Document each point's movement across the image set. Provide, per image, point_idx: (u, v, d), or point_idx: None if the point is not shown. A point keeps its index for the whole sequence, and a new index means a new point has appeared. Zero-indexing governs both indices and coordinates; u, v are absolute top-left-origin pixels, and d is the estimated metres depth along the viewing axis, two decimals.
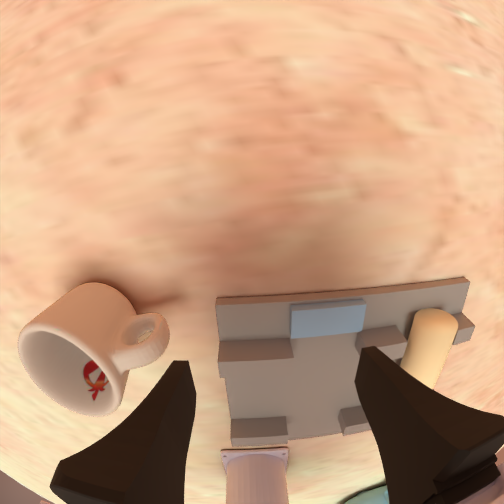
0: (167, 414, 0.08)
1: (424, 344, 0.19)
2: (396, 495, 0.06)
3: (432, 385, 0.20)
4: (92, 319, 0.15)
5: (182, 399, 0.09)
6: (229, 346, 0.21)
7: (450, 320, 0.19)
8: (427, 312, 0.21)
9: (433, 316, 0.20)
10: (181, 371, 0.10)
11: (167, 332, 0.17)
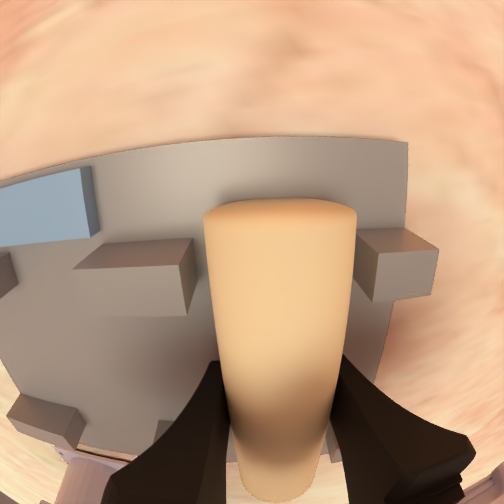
0: (215, 416, 0.08)
1: (218, 273, 0.07)
2: None
3: (305, 414, 0.08)
4: None
5: (224, 399, 0.09)
6: None
7: (332, 212, 0.07)
8: (272, 201, 0.09)
9: (281, 206, 0.08)
10: None
11: None
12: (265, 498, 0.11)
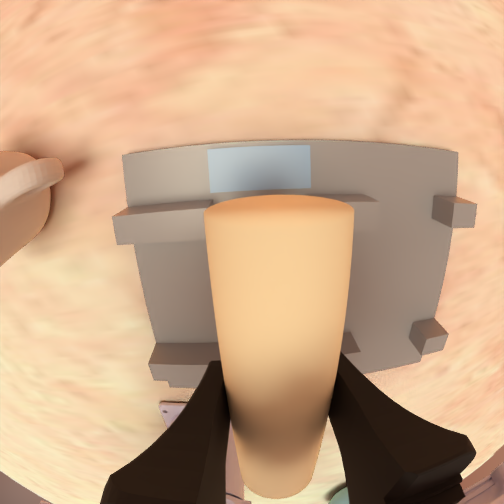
0: (215, 416, 0.08)
1: (215, 265, 0.07)
2: None
3: (299, 409, 0.08)
4: None
5: (224, 399, 0.09)
6: (135, 208, 0.16)
7: (330, 209, 0.07)
8: (274, 198, 0.09)
9: (282, 202, 0.08)
10: (222, 371, 0.10)
11: (55, 167, 0.12)
12: (262, 494, 0.11)
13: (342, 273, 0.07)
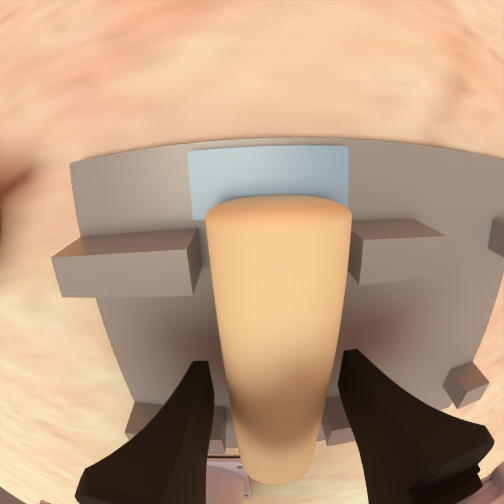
0: (192, 415, 0.08)
1: (217, 268, 0.07)
2: (375, 502, 0.06)
3: (297, 402, 0.09)
4: None
5: (204, 399, 0.09)
6: (87, 240, 0.10)
7: (328, 213, 0.08)
8: (274, 198, 0.09)
9: (281, 204, 0.09)
10: (202, 371, 0.10)
11: None
12: (261, 480, 0.12)
13: (339, 276, 0.07)
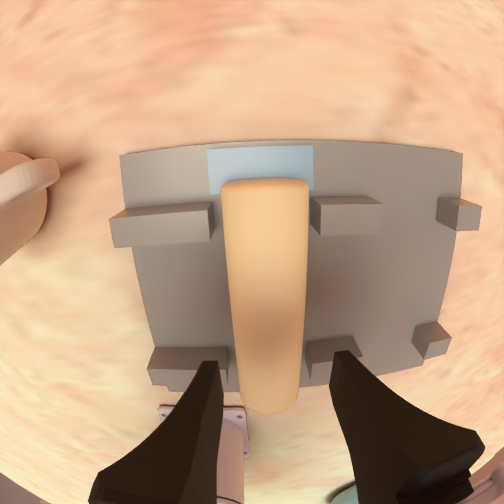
0: (204, 416, 0.08)
1: (227, 217, 0.13)
2: None
3: (279, 314, 0.14)
4: None
5: (215, 400, 0.09)
6: (132, 210, 0.15)
7: (294, 185, 0.13)
8: (263, 179, 0.14)
9: (267, 182, 0.14)
10: (213, 371, 0.10)
11: (51, 168, 0.12)
12: (257, 409, 0.17)
13: (300, 221, 0.12)
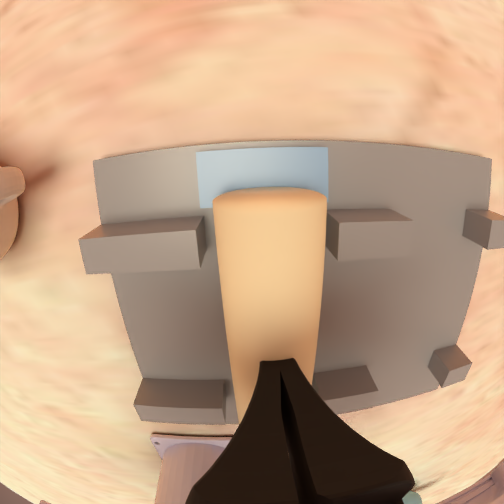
0: (280, 413, 0.08)
1: (222, 241, 0.10)
2: None
3: (288, 358, 0.11)
4: None
5: None
6: (108, 226, 0.12)
7: (308, 198, 0.10)
8: (266, 189, 0.11)
9: (272, 193, 0.11)
10: (277, 368, 0.10)
11: (11, 178, 0.09)
12: None
13: (317, 246, 0.09)
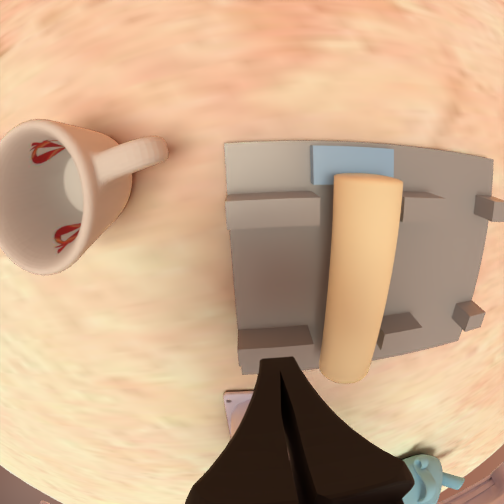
0: (280, 413, 0.08)
1: (346, 203, 0.15)
2: None
3: (378, 285, 0.16)
4: (80, 129, 0.12)
5: None
6: (239, 195, 0.17)
7: (392, 180, 0.15)
8: (360, 174, 0.16)
9: (367, 176, 0.16)
10: (277, 368, 0.10)
11: (166, 147, 0.14)
12: (339, 379, 0.19)
13: (399, 209, 0.14)
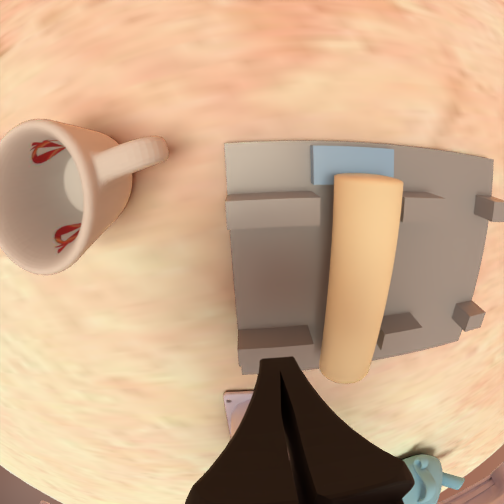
0: (280, 413, 0.08)
1: (346, 203, 0.15)
2: None
3: (379, 285, 0.16)
4: (81, 129, 0.12)
5: None
6: (239, 195, 0.17)
7: (392, 180, 0.15)
8: (360, 174, 0.16)
9: (367, 176, 0.16)
10: (277, 368, 0.10)
11: (166, 147, 0.14)
12: (340, 379, 0.19)
13: (399, 209, 0.14)
